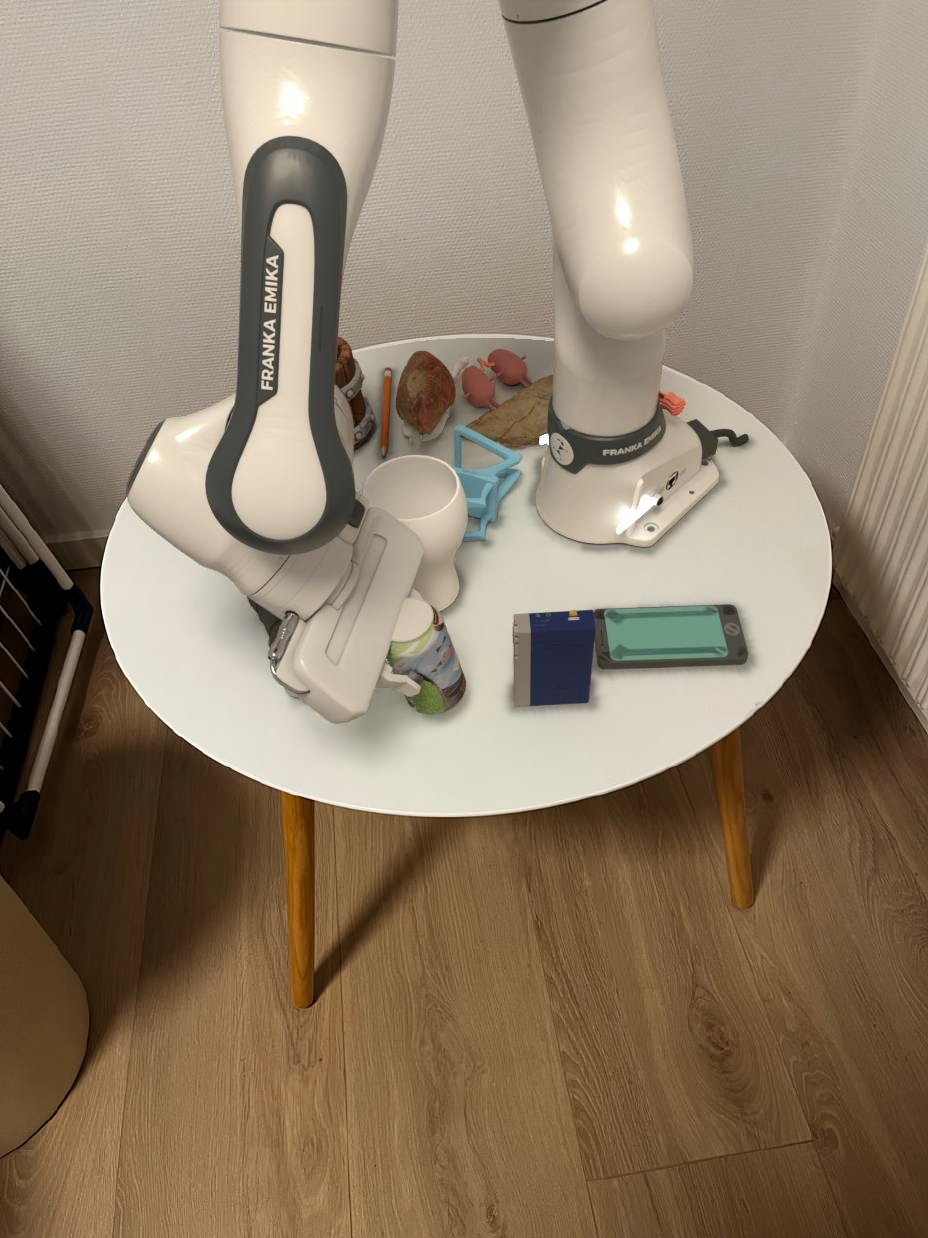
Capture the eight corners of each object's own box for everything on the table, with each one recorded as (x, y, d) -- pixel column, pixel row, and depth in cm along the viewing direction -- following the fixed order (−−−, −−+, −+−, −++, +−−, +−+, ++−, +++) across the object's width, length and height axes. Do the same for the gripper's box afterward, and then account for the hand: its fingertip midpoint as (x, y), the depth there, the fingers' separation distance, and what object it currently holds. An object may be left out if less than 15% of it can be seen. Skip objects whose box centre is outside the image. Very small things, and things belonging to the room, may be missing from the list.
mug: (381, 395, 121) (364, 307, 108) (373, 480, 114) (354, 397, 101) (295, 397, 122) (268, 310, 109) (282, 481, 115) (251, 399, 102)
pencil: (385, 372, 125) (391, 372, 125) (379, 462, 113) (386, 461, 113) (384, 367, 125) (391, 366, 125) (379, 456, 113) (386, 456, 113)
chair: (520, 488, 110) (488, 557, 103) (456, 472, 111) (420, 539, 104) (524, 439, 103) (490, 510, 97) (456, 423, 105) (418, 491, 98)
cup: (456, 634, 95) (446, 533, 83) (362, 615, 97) (340, 514, 86) (484, 562, 101) (479, 459, 90) (395, 546, 104) (379, 443, 92)
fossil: (644, 398, 117) (642, 409, 118) (566, 359, 123) (565, 369, 124) (533, 475, 107) (533, 485, 108) (455, 427, 113) (456, 438, 115)
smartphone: (750, 657, 90) (599, 662, 90) (747, 664, 91) (598, 669, 91) (735, 601, 94) (591, 606, 95) (733, 608, 95) (591, 613, 96)
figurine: (468, 356, 120) (442, 434, 108) (471, 382, 123) (446, 461, 111) (417, 356, 122) (386, 434, 110) (421, 382, 125) (391, 460, 113)
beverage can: (475, 710, 86) (467, 629, 77) (400, 732, 85) (383, 652, 76) (456, 662, 90) (446, 579, 81) (385, 682, 89) (367, 600, 80)
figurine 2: (538, 385, 124) (504, 347, 124) (547, 371, 121) (512, 332, 121) (477, 428, 119) (442, 388, 119) (485, 414, 116) (448, 373, 116)
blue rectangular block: (586, 683, 90) (593, 606, 81) (589, 703, 89) (597, 626, 79) (512, 687, 90) (511, 611, 81) (514, 707, 89) (513, 631, 80)
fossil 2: (441, 343, 116) (485, 407, 116) (392, 383, 119) (435, 446, 119) (411, 334, 104) (460, 405, 104) (357, 379, 107) (405, 449, 107)
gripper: (280, 657, 68) (418, 747, 73) (362, 476, 80) (474, 565, 86) (240, 682, 72) (373, 766, 78) (323, 507, 85) (433, 590, 90)
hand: (427, 659), depth 82 cm, fingers closed on beverage can, 5 cm apart
